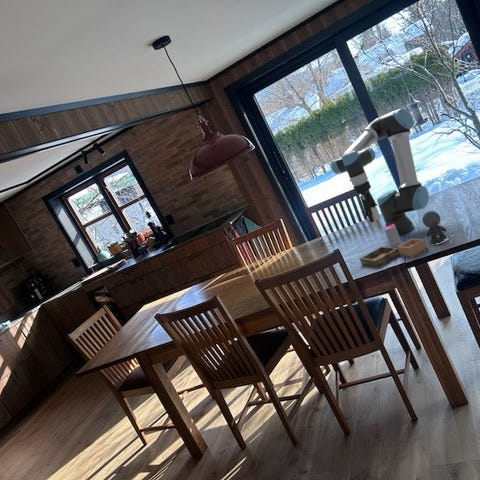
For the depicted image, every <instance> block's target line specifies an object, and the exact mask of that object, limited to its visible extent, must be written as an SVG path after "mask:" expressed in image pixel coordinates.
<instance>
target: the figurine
mask: <svg viewBox="0 0 480 480" xmlns="http://www.w3.org/2000/svg"><path fill="white" fill-rule="evenodd" d="M441 220H442V219H441V216H440V214H439V213H438V212H436V211H434V210H430V211H426V212H425V213H424V214H423V215H422V224H423V225H424V226H425V227H427V228H429V229H428V230H427V232H426V236H427V238H429V237H430V238H431V240H429V244H430V243H431V244H436V243H440V242H442V241H444V239H446V238H447V237H446V235H447V234H446V235H445V234H444V232H445V233H446V232H447V230H446V228H445V227H444V226H441V225H440V223H441Z"/></svg>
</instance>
